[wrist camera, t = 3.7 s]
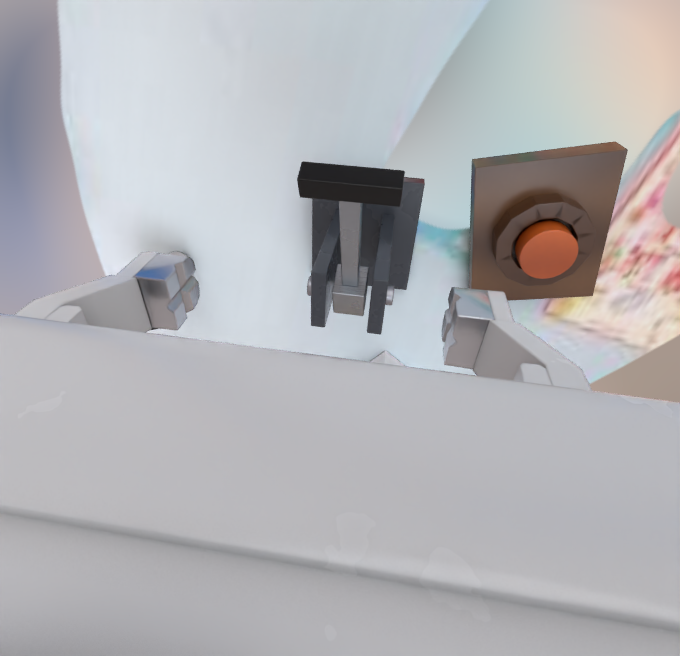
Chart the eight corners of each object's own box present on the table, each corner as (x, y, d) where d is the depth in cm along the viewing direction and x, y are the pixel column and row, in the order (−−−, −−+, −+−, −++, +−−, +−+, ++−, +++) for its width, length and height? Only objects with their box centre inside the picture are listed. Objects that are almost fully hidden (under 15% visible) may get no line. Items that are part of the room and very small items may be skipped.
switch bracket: (315, 168, 34) (278, 228, 25) (424, 178, 33) (428, 244, 24) (314, 273, 40) (284, 351, 31) (406, 283, 40) (403, 367, 30)
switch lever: (303, 152, 20) (294, 188, 19) (405, 161, 20) (401, 198, 19) (320, 282, 31) (314, 310, 30) (386, 290, 31) (382, 318, 30)
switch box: (472, 159, 32) (478, 175, 29) (615, 141, 30) (639, 156, 27) (468, 289, 39) (473, 314, 36) (584, 282, 37) (600, 308, 34)
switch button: (517, 222, 31) (522, 232, 29) (575, 217, 30) (583, 227, 29) (512, 269, 33) (516, 280, 32) (566, 265, 32) (573, 277, 31)
